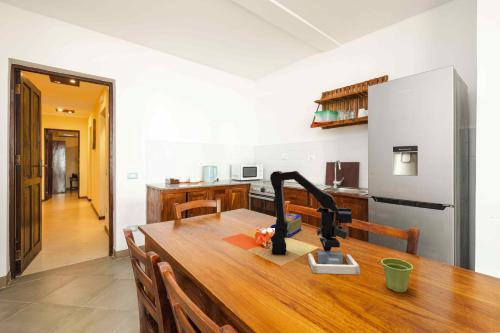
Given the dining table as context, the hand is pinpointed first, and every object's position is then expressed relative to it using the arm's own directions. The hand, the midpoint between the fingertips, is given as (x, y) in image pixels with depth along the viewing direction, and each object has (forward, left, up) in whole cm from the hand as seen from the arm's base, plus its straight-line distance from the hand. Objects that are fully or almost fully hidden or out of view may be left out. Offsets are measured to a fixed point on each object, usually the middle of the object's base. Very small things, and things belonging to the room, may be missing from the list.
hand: (327, 255), depth 110 cm
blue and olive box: (-16, +37, -1) cm, 40 cm away
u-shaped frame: (0, -9, -1) cm, 9 cm away
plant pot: (+18, -25, -1) cm, 30 cm away
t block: (0, -7, -1) cm, 7 cm away
